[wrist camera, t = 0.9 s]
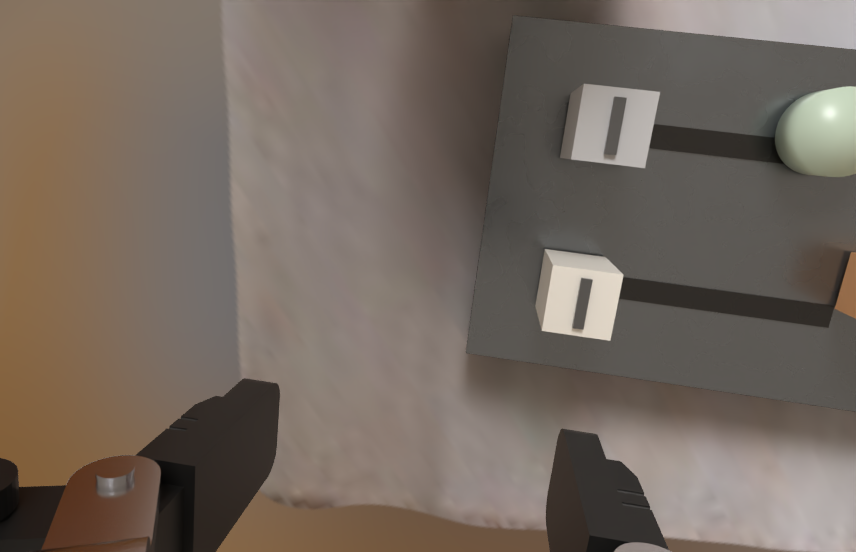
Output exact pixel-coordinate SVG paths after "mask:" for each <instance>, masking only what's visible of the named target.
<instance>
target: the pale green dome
mask: <svg viewBox="0 0 856 552" xmlns="http://www.w3.org/2000/svg"><path fill="white" fill-rule="evenodd" d="M775 146H776V150H777V153H778V155H779V157H780V159H781V160H782V161H783V163H784V164H785V165H786V166H788V167H789V168H790V169H792V170H793V171H796V172H798V173H801V174H805V175H814V176H825V177H845V176H850V175H853V174H856V87H853V86H848V87H840V88H834V89H828V90H823V91H817V92H813V93H810V94H807V95H805V96H803V97H801V98H799V99H797V100H796V101H795V102H793V103H792V104H791V105H790V106H789V107H788V108H787V109H786V110H785V112H784V113H783V115H782V116H781V118H780V120H779V122H778V125H777V128H776V132H775Z"/></svg>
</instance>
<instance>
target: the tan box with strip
mask: <svg viewBox="0 0 856 552" xmlns="http://www.w3.org/2000/svg"><path fill="white" fill-rule="evenodd" d="M835 309H836V310H838V311H840V312H843V313H845V314H847V315H849V316H851V317H853V318H855V319H856V253H854V252H851V254H850V258H849V261H848V265H847V268H846V272H845V275H844V278H843V282H842V285H841V289H840V292H839V296H838V299H837V303H836V306H835Z"/></svg>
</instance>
